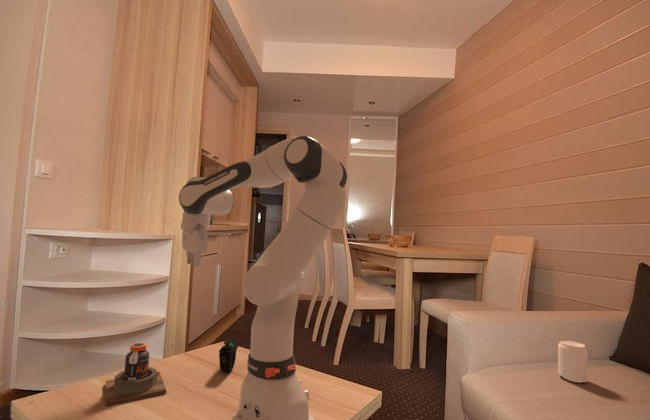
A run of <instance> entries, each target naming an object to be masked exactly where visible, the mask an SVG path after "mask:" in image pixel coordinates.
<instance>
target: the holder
mask: <svg viewBox="0 0 650 420" xmlns="http://www.w3.org/2000/svg"><path fill="white" fill-rule="evenodd" d="M124 371H125V370H122V371H119V373H117V374H116V375H114V379H109V380H108V379H107V380H106V381H105V405H106V406H105V407H109V406H114V405H115V406H116V405H118V404H122V403H128V402H134V401H137V400H142V399H146V398H147V399H148V398H152V397H157V396H161V395H166V394H167V388H166V385H165V383H164V381H163V378H162V375H161V372H160V371H157V369H156V368H153V367H151V366H148V376H147V377H146V378H144V379H140V380H134V381H125V380H124Z"/></svg>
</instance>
